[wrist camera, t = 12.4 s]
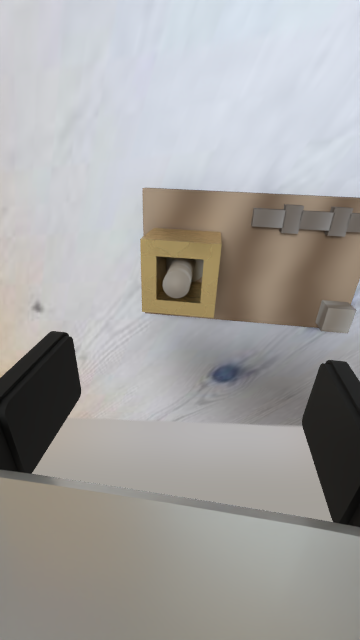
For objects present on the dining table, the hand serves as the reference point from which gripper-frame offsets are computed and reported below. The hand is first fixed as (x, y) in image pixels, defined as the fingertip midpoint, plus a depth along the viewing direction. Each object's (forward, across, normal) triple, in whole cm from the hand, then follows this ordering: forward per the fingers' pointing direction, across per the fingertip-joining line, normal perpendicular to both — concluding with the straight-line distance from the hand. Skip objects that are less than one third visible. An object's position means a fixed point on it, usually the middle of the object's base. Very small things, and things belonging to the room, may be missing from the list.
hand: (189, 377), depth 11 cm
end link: (+17, +2, +1) cm, 17 cm away
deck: (+19, -4, 0) cm, 19 cm away
